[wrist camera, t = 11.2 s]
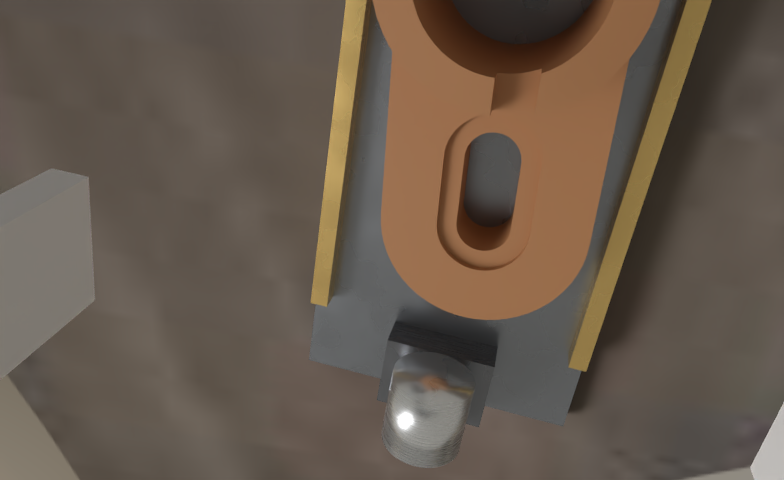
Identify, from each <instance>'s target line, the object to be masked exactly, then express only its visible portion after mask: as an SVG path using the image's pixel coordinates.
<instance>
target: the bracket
mask: <svg viewBox="0 0 784 480" xmlns="http://www.w3.org/2000/svg"><path fill="white" fill-rule="evenodd" d="M659 3H660V0H593V1H592V2H591V4H590V5H589V7H588V8H587V10H586V11H585V12H584V13H583V14H582V16H581V17H580V18H579V19H578V20H577V21H576V22H575V23H573V24H572V25H571V26H570V27H568V28H567V29H565V30H564V31H562V32H561V33H559V34H557V35H555V36H553V37H551V38H549V39H546V40H543V41H539V42H535V43H529V44H510V43H504V42H500V41H497V40H494V39H491V38H489V37H487V36H485V35H483V34H481V33H480V32H478V31H477V30H476V29H474V28H473V27H472V26H471V25H470V24H468V23H467V22H466V20H465V19H464V18H463V17H462V16H461V14H460V13H459V12H458V10H457V9H456V7H455V5H454V3H453V1H452V0H373V4H374V8H375V12H376V16H377V19H378V22H379V25H380V27H381V30H382V33H383V35H384V37H385V39H386V41H387V43H388V45H389V47H390V48H391V50H392V63H391V77H390V92H389V106H388V120H387V134H386V149H385V163H384V177H383V192H382V206H381V230H382V236H383V241H384V245H385V248H386V251H387V254H388V256H389V258H390V260H391V262H392V264H393V266H394V267H395V269H396V271H397V272H398V274H399V275H400V276H401V278H402V279H403V280H404V281H405V282H406V284H407V285H408V286H409V287H410V288H411V289H412V290H413V291H415V292H416V293H417V294H418V295H419V296H421V297H422V298H423V299H425V300H426V301H428V302H429V303H431V304H433V305H434V306H436V307H438V308H440V309H442V310H444V311H447V312H450V313H452V314H455V315H459V316H462V317H467V318H472V319H481V320H500V319H508V318H513V317H518V316H521V315H524V314H528V313H530V312H533V311H535V310H537V309H539V308H541V307H543V306H545V305H546V304H548V303H550V302H551V301H552V300H554V299H555V298H557V297H558V296H559V295H560V294H561V293H562V292H563V291H565V289H566V288H567V287H568V286H569V285H570V284H571V283H572V282H573V280H574V279H575V277H576V276H577V275H578V273H579V271H580V269H581V268H582V266H583V264H584V261H585V259H586V256H587V253H588V250H589V246H590V242H591V237H592V232H593V227H594V223H595V218H596V213H597V209H598V204H599V199H600V195H601V190H602V185H603V181H604V176H605V171H606V166H607V162H608V157H609V152H610V148H611V143H612V138H613V134H614V129H615V124H616V120H617V115H618V110H619V105H620V101H621V96H622V91H623V87H624V82H625V77H626V73H627V68H628V63H629V59H630V57H631V56H632V55H633V53H634V52H635V51H636V49H637V48H638V46H639V45H640V43H641V42H642V40H643V38H644V37H645V35H646V33H647V31H648V30H649V28H650V25H651V23H652V21H653V19H654V17H655V14H656V12H657V9H658V6H659ZM491 132H495V133H501V134H504V135H506V136H508V137H509V138H511V139H512V140H513V141H514V142H515V143H516V144H517V146H518V148H519V150H520V153H521V160H522V161H521V169H520V175H519V181H518V188H517V194H516V200H515V207H514V211H513V214H512V215H511V217H510V218H509V219H508V220H507V221H506V222H505V223H503V224H502V225H499V226H496V227H484V226H480V225H478V224H476V223H474V222H473V221H472V220H471V219H470V218H469V217H468V215H467V214H466V211H465V208H464V196H465V188H466V180H467V172H468V164H469V156H470V148H471V141H472V140H474V139H475V138H476V137H478V136H479V135H482V134H485V133H491Z"/></svg>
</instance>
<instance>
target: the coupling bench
mask: <svg viewBox="0 0 784 480" xmlns="http://www.w3.org/2000/svg"><path fill="white" fill-rule="evenodd" d="M452 1H453V3H454V5H455V7H456V9H457V10H458V12H459V13H460V14H461V16H462V17H463V18H464V19H465V20H466V22H467V23H468V24H470V25H471V26H472V27H473V28H474V29H476V30H477V31H478V32H480V33H481V34H483V35H485V36H487V37H489V38H491V39H494V40H497V41H500V42H504V43H510V44H529V43H535V42H539V41H543V40H546V39H549V38H551V37H553V36H555V35H557V34H559V33H561V32H562V31H564V30H565V29H567V28H568V27H570V26H571V25H572V24H573V23H575V22H576V21H577V20H578V19H579V18H580V17H581V16H582V14H583V13H584V12H585V11H586V10H587V8H588V7H589V5H590V4H591V2H592V1H593V0H452ZM711 1H712V0H660V3H659V6H658V9H657V12H656V14H655V17H654V19H653V21H652V23H651V25H650V28H649V30H648V31H647V33H646V35H645V37H644V38H643V40H642V42H641V43H640V45H639V46H638V48H637V49H636V51H635V52H634V53H633V55H632V56H631V57H630V59H629V63H628V68H627V73H626V77H625V82H624V87H623V91H622V96H621V101H620V105H619V110H618V115H617V120H616V124H615V129H614V134H613V138H612V143H611V148H610V152H609V157H608V162H607V166H606V171H605V176H604V181H603V185H602V190H601V195H600V199H599V204H598V209H597V213H596V218H595V223H594V227H593V232H592V237H591V242H590V246H589V250H588V253H587V256H586V259H585V261H584V264H583V266H582V268H581V269H580V271H579V273H578V275H577V276H576V277H575V279H574V280H573V282H572V283H571V284H570V285H569V286H568V287H567V288H566V289H565V291H563V292H562V293H561V294H560V295H559V296H558V297H557V298H555V299H554V300H552V301H551V302H550V303H548V304H546V305H545V306H543V307H541V308H539V309H537V310H535V311H533V312H530V313H528V314H524V315H521V316H518V317H513V318H508V319H500V320H481V319H472V318H467V317H462V316H459V315H455V314H452V313H450V312H447V311H444V310H442V309H440V308H438V307H436V306H434V305H433V304H431V303H429V302H428V301H426V300H425V299H423V298H422V297H421V296H419V295H418V294H417V293H416V292H415V291H413V290H412V289H411V288H410V287H409V286H408V285H407V284H406V282H405V281H404V280H403V279H402V278H401V276H400V275H399V274H398V272H397V271H396V269H395V267H394V266H393V264H392V262H391V260H390V258H389V256H388V254H387V251H386V248H385V245H384V241H383V236H382V230H381V206H382V192H383V177H384V163H385V149H386V134H387V120H388V106H389V92H390V77H391V63H392V50H391V48H390V47H389V45H388V43H387V41H386V39H385V37H384V35H383V33H382V30H381V27H380V25H379V22H378V19H377V16H376V12H375V8H374V4H373V0H346V6H345V15H344V23H343V32H342V40H341V49H340V57H339V66H338V74H337V83H336V91H335V100H334V108H333V117H332V126H331V134H330V143H329V151H328V160H327V168H326V177H325V185H324V194H323V202H322V211H321V219H320V228H319V236H318V245H317V253H316V262H315V271H314V279H313V288H312V296H311V303H313V304H316V307H315V315H314V324H313V332H312V340H311V348H310V357H309V360H312V361H316V362H319V363H323V364H327V365H331V366H335V367H338V368H342V369H346V370H350V371H354V372H358V373H361V374H365V375H369V376H373V377H377V378H381V380H380V385H379V391H378V396H377V400H378V401H382V402H386V403H387V405H386V411H385V416H384V421H383V427H382V434H381V435H382V440H383V443H384V445H385V447H386V448H387V450H388V451H389V452H390V453H391V454H392V455H393V456H395V457H396V458H397V459H399V460H401V461H403V462H405V463H407V464H410V465H413V466H417V467H423V468H433V467H440V466H443V465H445V464H448V463H449V462H451V461H452V460H453V459H454V458H455V457H456V456H457V454H458V452H459V449H460V445H461V441H462V437H463V433H464V429H465V425H466V424H469V425H472V426H476V427H479V425H480V421H481V417H482V413H483V410H484V406H488V407H491V408H495V409H499V410H503V411H507V412H510V413H514V414H518V415H522V416H526V417H530V418H533V419H537V420H541V421H545V422H549V423H552V424H556V425H560V426H563V425H564V422H565V419H566V416H567V413H568V410H569V407H570V404H571V401H572V398H573V395H574V392H575V389H576V386H577V383H578V380H579V377H580V374H581V371H585V372H586V371H587V368H588V365H589V362H590V359H591V356H592V353H593V350H594V347H595V344H596V341H597V338H598V335H599V332H600V329H601V327H602V324H603V321H604V318H605V315H606V312H607V309H608V306H609V303H610V300H611V297H612V294H613V291H614V288H615V285H616V282H617V279H618V276H619V273H620V270H621V267H622V264H623V261H624V258H625V255H626V253H627V250H628V247H629V244H630V241H631V238H632V235H633V232H634V229H635V226H636V223H637V220H638V217H639V214H640V211H641V208H642V205H643V202H644V199H645V196H646V193H647V190H648V187H649V184H650V182H651V179H652V176H653V173H654V170H655V167H656V164H657V161H658V158H659V155H660V152H661V149H662V146H663V143H664V140H665V137H666V134H667V131H668V128H669V125H670V122H671V119H672V116H673V113H674V111H675V108H676V105H677V102H678V99H679V96H680V93H681V90H682V87H683V84H684V81H685V78H686V75H687V72H688V69H689V66H690V63H691V60H692V57H693V54H694V51H695V48H696V45H697V42H698V39H699V37H700V34H701V31H702V28H703V25H704V22H705V19H706V16H707V13H708V10H709V7H710V4H711ZM521 161H522V160H521V153H520V150H519V148H518V146H517V144H516V143H515V142H514V141H513V140H512V139H511V138H509V137H508V136H506V135H504V134H501V133H495V132H491V133H485V134H482V135H479V136H478V137H476V138H475V139H474V140H472V141H471V148H470V156H469V164H468V172H467V180H466V188H465V196H464V208H465V211H466V214H467V215H468V217H469V218H470V219H471V220H472V221H473V222H474V223H476V224H478V225H480V226H484V227H496V226H499V225H502V224H503V223H505V222H506V221H507V220H508V219H509V218H510V217H511V215H512V214H513V211H514V207H515V200H516V194H517V188H518V181H519V175H520V169H521Z"/></svg>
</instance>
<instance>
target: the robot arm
mask: <svg viewBox="0 0 784 480" xmlns="http://www.w3.org/2000/svg"><path fill="white" fill-rule="evenodd" d="M93 301H95V292H94V273H93V254H92V235H91V216H90V197H89V178H88V177H86V176H82V175H78V174H73V173H69V172H65V171H61V170H56V169H52V168H51V169H49V170H47V171H45V172H44V173H42V174H40V175H38V176H36V177H34V178H32V179H30V180H28V181H26V182H24V183H22V184H20V185H18V186H16V187H14V188H12V189H10V190H8V191H6V192H4V193H2V194H0V380H1V379H2V378H3V377H4V376H6V375H7V374H8V373H9V372H10V371H12V370H13V369H14V368H15V367H16V366H17V365H19V364H20V363H21V362H22V361H23V360H25V359H26V358H27V357H28V356H29V355H30V354H32V353H33V352H34V351H35V350H36V349H38V348H39V347H40V346H41V345H42V344H44V343H45V342H46V341H47V340H48V339H49V338H51V337H52V336H53V335H54V334H55V333H57V332H58V331H59V330H60V329H61V328H63V327H64V326H65V325H66V324H67V323H68V322H70V321H71V320H72V319H73V318H74V317H76V316H77V315H78V314H79V313H80V312H82V311H83V310H84V309H85V308H86V307H87V306H89V305H90V304H91V303H92V302H93ZM750 469H751V472H752V474H753V477H754V480H784V403H783V405H782V407H781V409H780V411H779V413H778V415H777V417H776V419H775V421H774V423H773V425H772V426H771V428H770V430H769V432H768V434H767V436H766V438H765V440H764V442H763V444H762V446H761V448H760V450H759V452H758V454H757V456H756V457H755V459H754V461H753V463H752V465H751V467H750Z"/></svg>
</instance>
